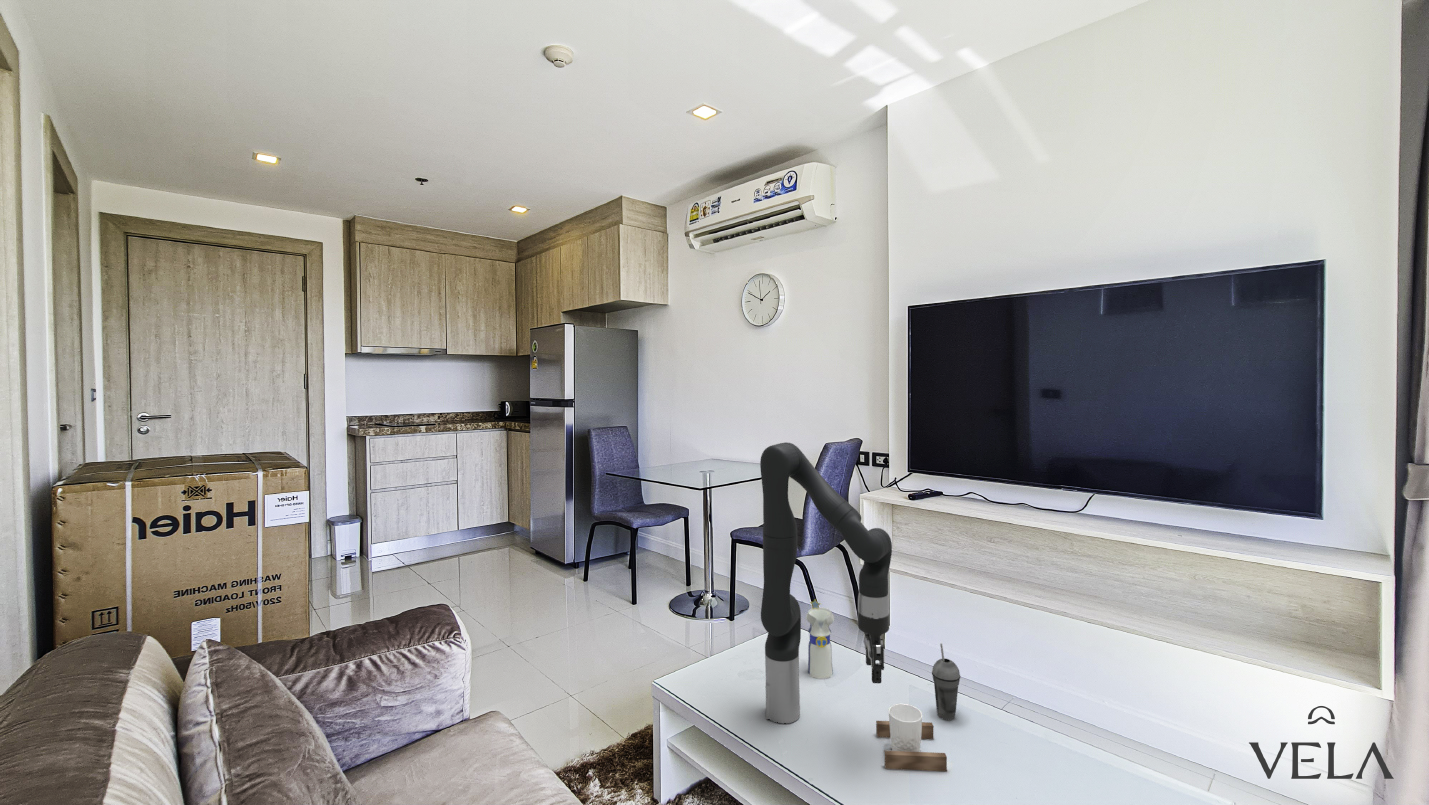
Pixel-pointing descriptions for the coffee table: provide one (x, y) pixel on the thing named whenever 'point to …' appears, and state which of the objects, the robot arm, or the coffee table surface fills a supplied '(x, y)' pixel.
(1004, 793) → the coffee table surface
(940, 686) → the beverage cup
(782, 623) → the robot arm
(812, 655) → the white and blue figurine
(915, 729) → the white cup
